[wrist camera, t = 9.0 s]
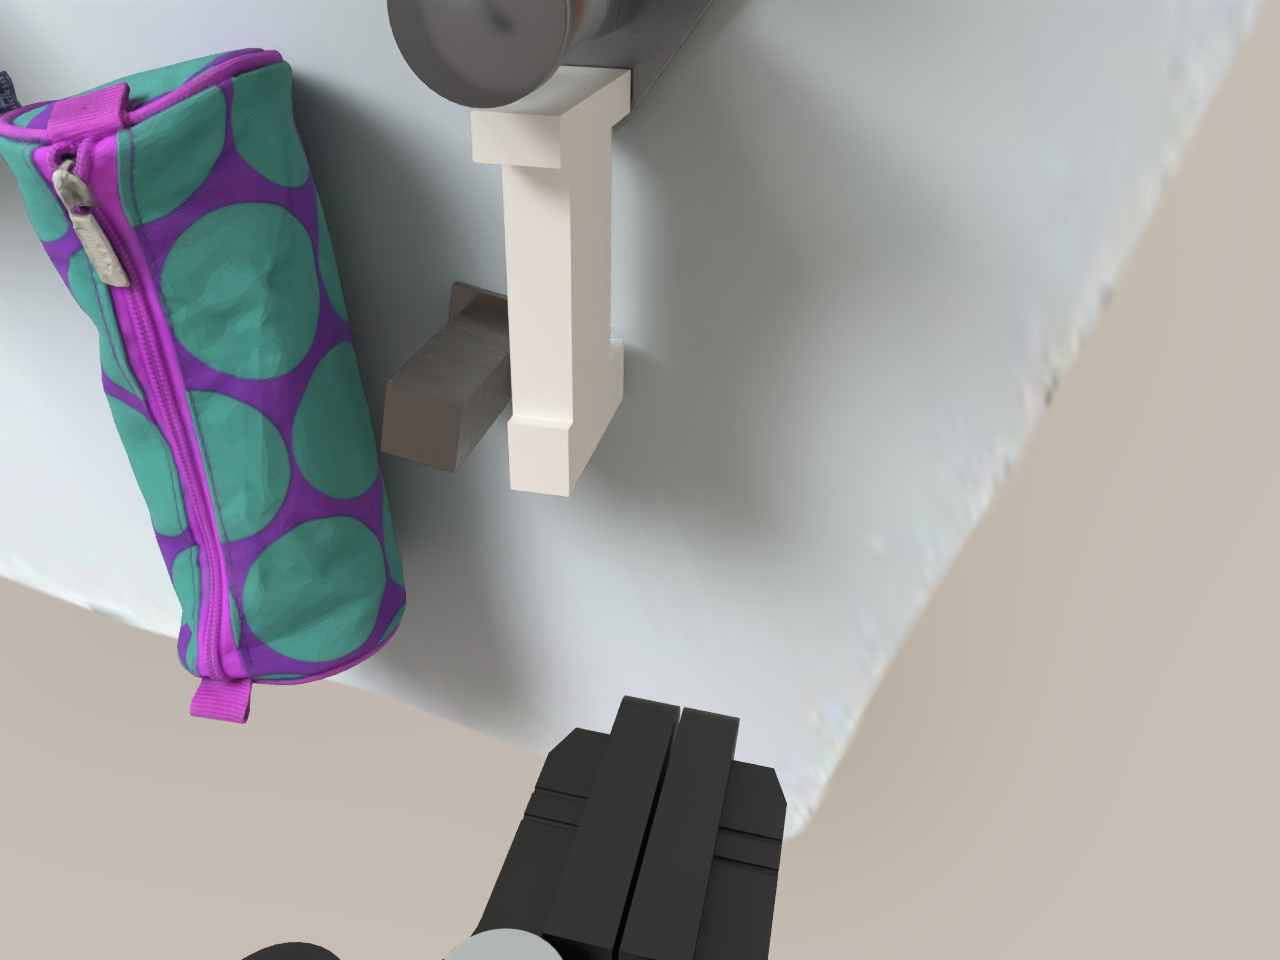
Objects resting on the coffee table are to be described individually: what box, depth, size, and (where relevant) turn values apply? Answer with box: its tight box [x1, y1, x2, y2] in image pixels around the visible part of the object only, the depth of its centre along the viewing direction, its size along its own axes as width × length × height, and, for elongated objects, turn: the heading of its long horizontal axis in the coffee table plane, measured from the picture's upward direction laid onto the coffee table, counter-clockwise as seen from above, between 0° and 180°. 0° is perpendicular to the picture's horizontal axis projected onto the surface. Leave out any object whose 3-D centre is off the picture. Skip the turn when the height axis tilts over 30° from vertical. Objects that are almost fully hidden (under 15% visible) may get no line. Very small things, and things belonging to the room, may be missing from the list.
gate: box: [470, 66, 631, 497], centre depth 30 cm, size 11×2×8 cm, turn 178°
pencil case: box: [0, 48, 406, 724], centre depth 35 cm, size 21×9×10 cm, turn 4°
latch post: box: [380, 282, 512, 473], centre depth 34 cm, size 4×4×7 cm
